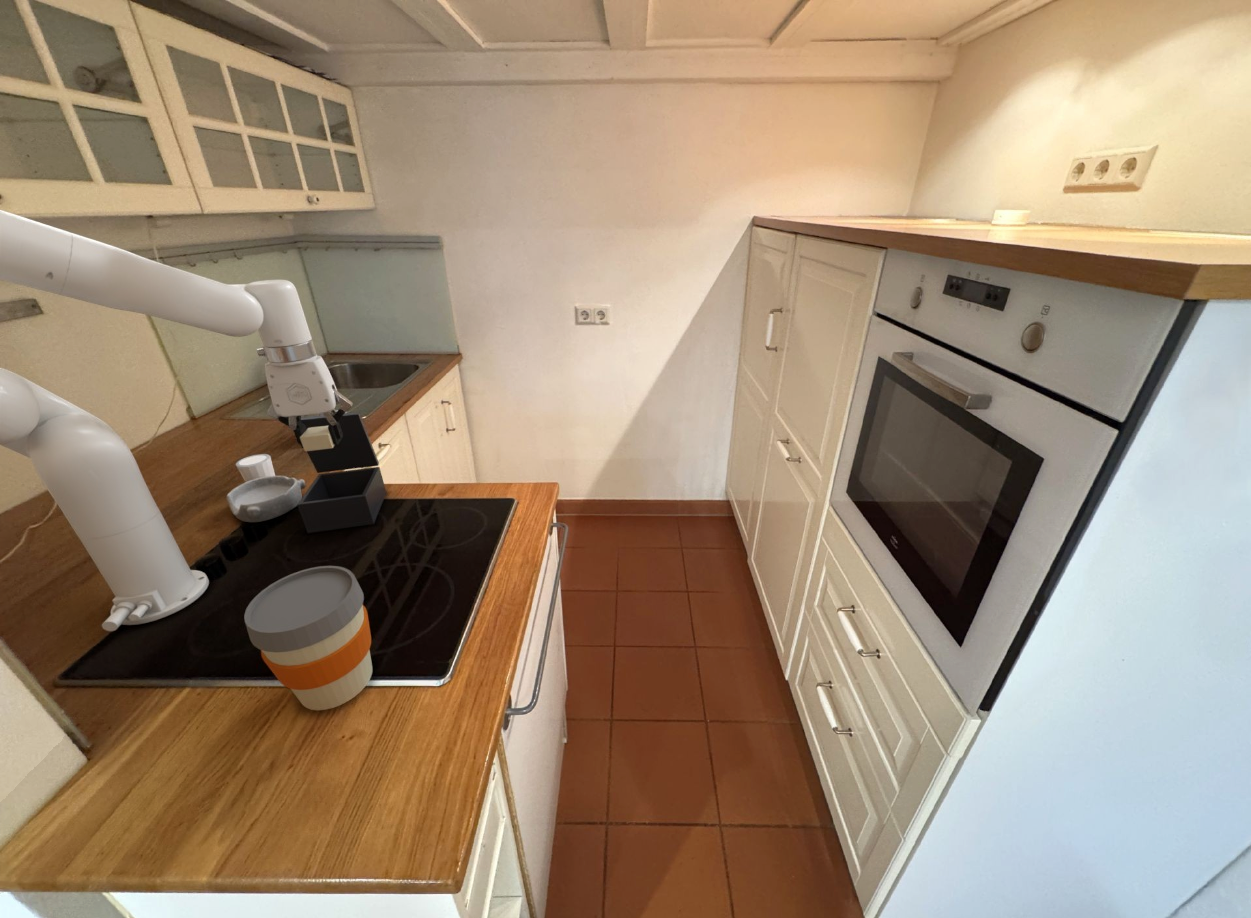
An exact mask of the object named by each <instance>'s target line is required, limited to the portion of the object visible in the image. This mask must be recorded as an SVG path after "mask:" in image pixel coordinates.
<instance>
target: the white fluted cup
mask: <svg viewBox="0 0 1251 918" xmlns="http://www.w3.org/2000/svg"><path fill="white" fill-rule="evenodd" d="M235 466H236V468H237V470H238V472H239V473H240V476H241V477H242V479H243V481H244V483H246V482H248V481H250V480H253V479H257V478H262V477H269V476H276V473H275V468H274V466H273V461H272V457H271V455H269V454H267V453H259V454H258V453H257V454H252V455H250V456H246V457H244V458H241V459H239V460H237V462H236V463H235Z"/></svg>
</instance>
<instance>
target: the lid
mask: <svg viewBox="0 0 1251 918" xmlns="http://www.w3.org/2000/svg"><path fill="white" fill-rule="evenodd" d="M335 410H336V412H337V411H338V410H339V409H335ZM301 422H302V424H304V425H305V426H306V428H307V429H308V428H311V427H320V426H329V422H328V420H327V419H326V417H325V416H324V414H323V413H322V414H318V415H314V416H312V415H311V416H304V417H303V416H301ZM339 424H340V427H341V430H342V434H343V437H342V438H341V441H340V442H339V443H338V444H337V445H335V446H334V447H333V448H330V449H322V450H313V451H306V453H307V455H308V457H309V460H310V461H311V463H312V465H313V467H314V469H315V471H316V473H317V474H323V473H331V472H339V471H347V470H356V469H364V468H372V467H379V465H380V462H379V459H378V456H377V454H376V452H375V449H374V446H373V444H372V442H371V439H370V436H369V434H368V431H367V429H366V426H365V424H364V421H363V418H362V416H361V413H360V411H353V412H352V411H351V412H348V411H347V412H345V414H344V415H343V416H342V417H341V418H340V420H339Z"/></svg>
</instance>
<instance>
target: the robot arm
mask: <svg viewBox="0 0 1251 918" xmlns="http://www.w3.org/2000/svg"><path fill="white" fill-rule="evenodd" d="M0 281H3V282H6V283H10V284H14V285H19V286H23V287H26V288H32V289H35V290H39V291H43V292H46V293H50V294H55V295H58V296H63V297H67V298H70V299H75V300H78V301H81V302H85V303H91V304H94V305H98V306H101V307H106V308H109V309H114V310H120V311H125V312H132V313H136V314H142V315H145V316H150V317H154V318H158V319H162V320H165V321H166V320H167V321H170V322H174V323H178V324H182V325H186V326H189V327H194V328H198V329H202V330H205V331H209V332H213V333H218V334H221V335H224V336H229V337H235V338H236V337H237V338H241V337H248V336H250V335H252V334H255V333H257V332H258V334H259V337H260V340H261V344H262V347H261V348H257V349H256V353H257V356H259V357H265V358H266V360H267V362H266V363H265V364H264V371H265V378H266V384H267V389H268V392H269V397H270V400H271V403H270V405H269V407H268V409H267V411H266V416H268V417H270V418H272V419H275V420H276V421H277V420H278V421H279V422H280V423H282V424H284V425H285V426H287V427H288V429H290V430H292V431H293V433H294V436H295V440H296V441H297V443H298V444H299V445H300V448H301V449H303V450H304V448H303V445H302V442H301V440H300V437H301V436H302V435H303V433H304V432H305V431H306V430H307V428H306V426H305V425H304V424H302V422H301V418H302V417H303V416H312V415H319V414H322V413H323V414H324V416H325V417H326V419H327V420H328V422H329V426H328V430H329V432H330V435H331V438H332V441H333V444H334V445H337V444H338V443H339V442H340V441H341V438H342V437H343V434H342V430H341V427H340V424H339V420H340V418H341V417H342V416H343V415H344V414H345V412H347V413H348V411H349V410H350V409H351V408H352V407H353V405H354V404H353V402H352V400H349V399H348V398H347V397H346V396H345V395H343V394H342V393H341V392H339V391H338V389H337V386H336V383H335V381H334V378H333V377H332V374H331V373H330V372H331V371H330V370H329V368H328V366H327V364H326V362H325V360H324V359H323V357H322V356H321V355H318V354H317V350H316V348H315V345H314V342H313V341H314V340H313V338H312V334H311V332H310V328H309V325H308V323H307V319H306V315H305V313H304V309H303V306H302V302H301V300H300V295H299V293H298V290H297V288H296V286H295V284H294V283H293V282H292V281H290V280H287V279H264V280H255V281H252V282H249V283H239V284H236V283H235V284H227V283H224V282H221V281H217V280H215V279H211V278H208V277H204V276H203V275H199V274H196V273H193V272H190V271H186V270H183V269H180V268H177V267H174V266H171V265H168V264H164V263H161V262H157V261H155V260H152V259H150V258H147V257H143V256H141V255H139V254H136V253H133V252H131V251H128V250H125V249H123V248H120V247H117V246H114V245H111V244H108V243H105V242H102V241H100V240H95V239H93V238H89V237H86V236H83V235H80V234H77V233H73V232H70V231H67V230H64V229H61V228H58V227H55V226H53V225H49V224H45V223H42V222H40V221H37V220H33V219H30V218H27V217H24V216H21V215H18V214H15V213H12V212H9V211H5V210H3V209H0ZM338 404H339V405H340V407H339V408H338V409H335V408H336V407H337V405H338ZM336 410H338V411H337V412H336ZM0 446H2V447H4V448H7V449H8V450H11V451H13V452H16V453H17V454H20V455H22V456H24V457H26V458H29V459H31V462H32V464H33V467H34V470H35V471H36V473H37V476H38V477H39V479H40V481H41V483H42V484H43V486H44V487H45V489H46V490H47V491H48V492H49V494H50V496H51V497H52V499H53V500H54V502H55V503H56V505H57V506H58V508H59V509H60V510H61V512H62V514H63V516H64V517H65V518H66V520H67V522H68V523H69V525H70V527H71V528H72V531H74V533H75V534H76V536H77V537H78V539H79V540H80V542H81V544H82V545H83V547H84V549H85V551H86V552H87V553H88V555H89V556H90V558H91V559H92V562H93V563H94V564H95V566H96V568H97V569H98V571H99V573H100V574H101V576H102V577H103V579H104V580H105V582H106V584H107V585H108V587H109V589H110V591H111V592H112V594H113V595H114V598H113V599H112V600H111V602H112V603H113V605H112V606H111V609H110V615H109V616H108V617H107V618H106V619H105V620H104V621H103V622H102V624H101V627H102V629H103V630H104V631H105V632H115V631H117V630H118V629H119V628H120V626H121V625H122V626H137V625H143V624H147V623H150V622H151V623H152V622H155V621H158V620H161V619H163V618H166V617H168V616H171V615H173V614H175V613H177V612H179V611H181V610H183V609H185V608H186V607H188V606H189V605H191V604H192V603H194V602H195V601H197V600H198V599H199V598H200V597H201V596H202V595H203V594H204V593H205V592H206V590H207V589H208V587H209V584H210V580H209V578H208V576H207V574H206V573H205V572H203V571H201V570H196V569H191V568H190V566H189V564H188V562H187V560H186V558H185V556H184V554H183V552H182V551H181V548H180V547H179V545H178V543H177V541H176V539H175V537H174V536H173V533H172V532H171V529H170V527H169V526H168V524H167V522H166V520H165V518H164V516H163V514H162V512H161V510H160V509H159V507H158V505H157V503H156V500H155V499H154V497H153V495H152V493H151V491H150V489H149V487H148V485H147V484H146V481H145V479H144V477H143V474H142V472H141V469H140V467H139V465H138V463H137V460H136V459H135V457H134V455H133V453H132V451H131V449H130V448H129V446H128V445H127V443H126V442H125V441H124V440H123V438H122V437H121V436H120V435H119V434H118V433H117V432H116V431H115V429H113V428H112V427H111V426H110V425H109V424H108V423H107V422H105V421H104V420H102V419H100V418H99V417H97V416H96V415H94V414H92V413H90V412H88V411H87V410H85V409H84V408H81V407H79V406H77V405H76V404H74V403H72V402H70V401H68V400H67V399H65V398H62V397H61V396H59V395H57V394H55V393H53V392H51V391H50V390H48V389H46V388H44V387H42V386H41V385H39V384H37V383H35V382H33V381H31V380H30V379H28V378H26V377H24V376H22V375H20V374H18V373H16V372H14V371H11V370H9V369H6V368H3V367H0Z"/></svg>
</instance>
